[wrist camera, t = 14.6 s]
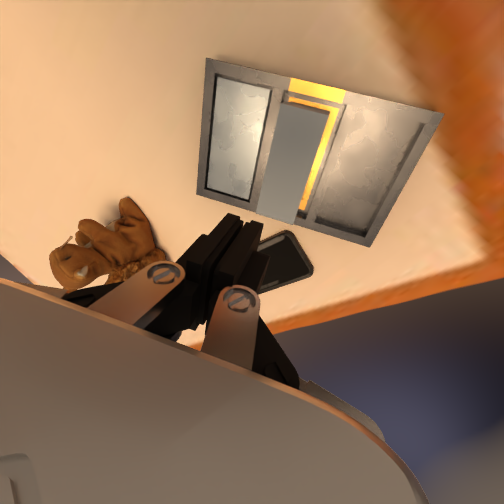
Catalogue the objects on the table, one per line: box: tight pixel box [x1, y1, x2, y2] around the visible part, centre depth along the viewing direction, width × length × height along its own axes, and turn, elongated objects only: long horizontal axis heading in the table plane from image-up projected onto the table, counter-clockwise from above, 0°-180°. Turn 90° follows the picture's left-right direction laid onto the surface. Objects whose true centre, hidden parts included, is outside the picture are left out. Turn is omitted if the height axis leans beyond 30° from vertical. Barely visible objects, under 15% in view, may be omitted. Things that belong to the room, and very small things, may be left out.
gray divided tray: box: [196, 58, 444, 247], centre depth 28 cm, size 14×22×3 cm, turn 79°
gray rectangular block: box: [256, 101, 330, 225], centre depth 25 cm, size 10×4×6 cm, turn 169°
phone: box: [257, 230, 313, 294], centre depth 38 cm, size 8×1×15 cm
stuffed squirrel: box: [49, 198, 166, 293], centre depth 37 cm, size 10×14×13 cm
